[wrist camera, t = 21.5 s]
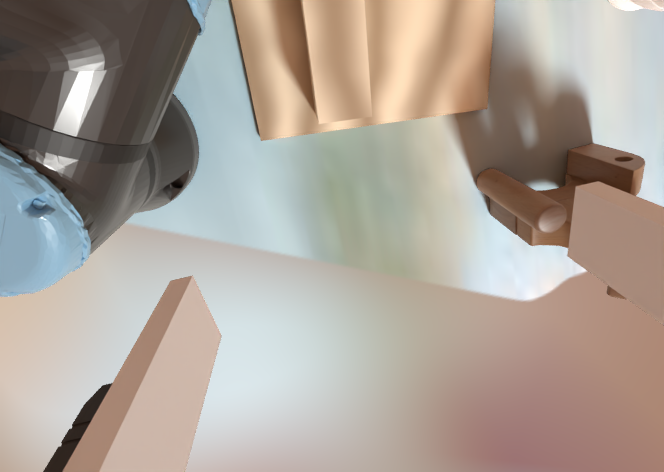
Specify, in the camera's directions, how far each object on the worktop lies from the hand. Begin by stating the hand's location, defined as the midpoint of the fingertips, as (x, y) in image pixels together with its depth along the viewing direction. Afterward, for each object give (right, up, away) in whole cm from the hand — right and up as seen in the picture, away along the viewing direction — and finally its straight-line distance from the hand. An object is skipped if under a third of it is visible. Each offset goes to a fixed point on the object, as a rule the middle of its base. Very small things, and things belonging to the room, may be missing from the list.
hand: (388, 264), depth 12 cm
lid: (+2, +21, +25) cm, 33 cm away
